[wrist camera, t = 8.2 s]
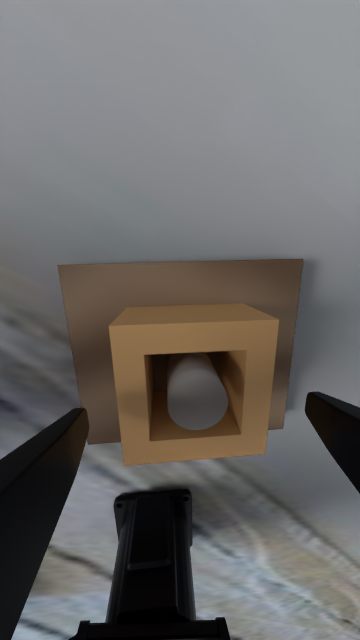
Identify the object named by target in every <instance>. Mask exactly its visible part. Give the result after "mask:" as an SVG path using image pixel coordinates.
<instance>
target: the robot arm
mask: <svg viewBox="0 0 360 640" xmlns="http://www.w3.org/2000/svg"><path fill="white" fill-rule="evenodd" d="M305 413H306V416H307V417H308V419H309V420H310V422H311V424H312V425H313V427H314V429H315V430H316V432H317V433H318V435H319V437H320V438H321V440H322V441H323V443H324V445H325V446H326V448H327V449H328V451H329V452H330V454H331V455H332V457H333V458H334V459H335V461H336V462H337V464H338V465H339V466H340V468H341V469H342V470H343V472H344V473H345V474H346V476H347V477H348V478H349V480H350V481H351V482H352V484H353V485H354V487H355V488H356V489H357V491H358V492H359V493H360V408H359V407H357V406H354V405H352V404H349V403H347V402H344V401H342V400H339V399H336V398H334V397H331V396H329V395H326V394H324V393H321V392H309V393H308V394H307V398H306V404H305ZM88 433H89V420H88V414H87V410H86V408H74V409H73V410H71V411H70V412H68V413H67V414H65V415H64V416H63V417H61V418H60V419H58V420H57V421H55V422H54V423H52V424H51V425H50V426H48V427H47V428H45V429H44V430H42V431H41V432H39V433H38V434H37V435H35V436H34V437H32V438H31V439H29V440H28V441H26V442H25V443H24V444H22V445H21V446H19V447H18V448H16V449H15V450H13V451H12V452H11V453H9V454H8V455H6V456H5V457H3V458H2V459H0V640H11V638H12V636H13V633H14V631H15V628H16V626H17V623H18V621H19V618H20V616H21V613H22V611H23V608H24V605H25V603H26V600H27V598H28V595H29V593H30V590H31V588H32V585H33V583H34V580H35V578H36V575H37V573H38V570H39V568H40V565H41V563H42V560H43V558H44V555H45V553H46V550H47V547H48V545H49V542H50V540H51V537H52V535H53V532H54V530H55V527H56V525H57V522H58V520H59V517H60V515H61V512H62V510H63V507H64V505H65V502H66V500H67V497H68V495H69V492H70V489H71V487H72V484H73V482H74V479H75V476H76V474H77V470H78V467H79V464H80V460H81V457H82V453H83V450H84V447H85V443H86V440H87V436H88ZM114 513H115V520H116V527H117V534H118V541H119V544H118V550H117V556H116V562H115V568H114V574H113V580H112V586H111V591H110V597H109V603H108V609H107V615H106V621H105V623H90V620H88V621H80V624H79V628H78V632H77V634H76V635H75V636H74V637H72V638H70V639H69V640H230V636H229V632H228V628H227V624H226V620H225V618H224V617H216V619H215V620H196V611H195V600H194V589H193V578H192V567H191V556H190V547H191V546H192V497H191V492H190V491H189V490H176V491H165V492H155V493H145V494H135V495H124V496H118V497H116V498H115V501H114Z"/></svg>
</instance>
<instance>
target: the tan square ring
mask: <svg viewBox="0 0 360 640" xmlns="http://www.w3.org/2000/svg"><path fill="white" fill-rule="evenodd" d="M278 327H279V319H277V318H275V317H272V316H270V315H268V314H266V313H263V312H261V311H259V310H257V309H254V308H252V307H250V306H248V305H246V304H214V305H183V306H151V307H127V308H126V309H125V310H124V311H123V312H122V313H121V314H120V315H119V316H118V317H117V318H116V319H115V320H114V321H113V322H112V323H111V324H110V325H109V333H110V342H111V351H112V361H113V370H114V379H115V388H116V397H117V406H118V415H119V424H120V433H121V442H122V451H123V460H124V466H127V465H139V464H151V463H163V462H175V461H188V460H200V459H212V458H224V457H236V456H249V455H261V454H265V450H266V441H267V431H268V422H269V412H270V403H271V393H272V384H273V374H274V365H275V355H276V346H277V336H278ZM213 351H221V363H220V381H221V383H222V385H223V387H224V389H225V391H226V393H227V396H228V407H227V410H226V413H225V415H224V416H223V417H222V419H221V420H220V421H219V422H218V423H216V424H215V425H213V426H211V427H209V428H207V429H203V430H189V429H185V428H183V427H180V426H179V425H177V424H176V423H175V422H174V421H173V420H172V418H171V417H170V415H169V412H168V398H167V391H155V392H154V381H153V363H152V354H171V353H192V352H213Z"/></svg>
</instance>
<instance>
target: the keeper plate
mask: <svg viewBox="0 0 360 640" xmlns="http://www.w3.org/2000/svg"><path fill="white" fill-rule="evenodd" d="M57 266H58V272H59V277H60V283H61V289H62V295H63V301H64V307H65V313H66V319H67V324H68V330H69V336H70V342H71V348H72V354H73V360H74V365H75V371H76V377H77V383H78V389H79V395H80V401H81V407H82V408H86V410H87V414H88V420H89V433H88V436H87V442H88V445H89V444H102V443H114V442H121V433H120V424H119V415H118V406H117V397H116V388H115V379H114V370H113V361H112V351H111V342H110V333H109V325H110V324H111V323H112V322H113V321H114V320H115V319H116V318H117V317H118V316H119V315H120V314H121V313H122V312H123V311H124V310H125V309H126V308H127V307H151V306H183V305H214V304H246V305H248V306H250V307H252V308H254V309H257V310H259V311H261V312H263V313H266V314H268V315H270V316H272V317H275V318H277V319H279V327H278V336H277V346H276V355H275V365H274V374H273V384H272V393H271V403H270V412H269V422H268V430H275V429H283V426H284V417H285V409H286V400H287V392H288V384H289V375H290V367H291V358H292V350H293V342H294V333H295V325H296V316H297V308H298V300H299V291H300V283H301V274H302V266H303V259H274V260H235V261H196V262H157V263H118V264H79V265H57ZM152 363H153V381H154V392H155V391H167V398H168V412H169V415H170V417H171V418H172V420H173V421H174V422H175V423H176V424H177V425H179V426H180V427H183V428H185V429H189V430H203V429H207V428H209V427H211V426H213V425H215V424H216V423H218V422H219V421H220V420H221V419H222V417H223V416H224V415H225V413H226V410H227V407H228V396H227V393H226V391H225V389H224V387H223V385H222V383H221V381H220V363H221V351H213V352H192V353H171V354H152Z"/></svg>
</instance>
